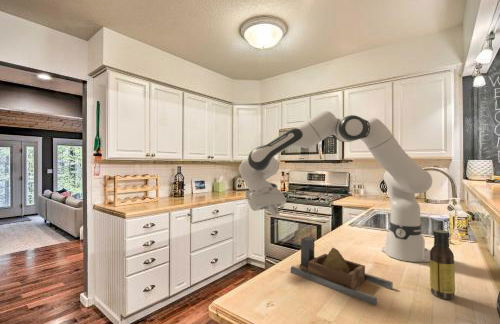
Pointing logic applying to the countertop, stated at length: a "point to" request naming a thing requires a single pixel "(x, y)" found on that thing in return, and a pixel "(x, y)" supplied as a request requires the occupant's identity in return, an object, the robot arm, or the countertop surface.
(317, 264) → the sled
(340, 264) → the rock
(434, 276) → the sauce bottle
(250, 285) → the countertop surface
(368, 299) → the rails
